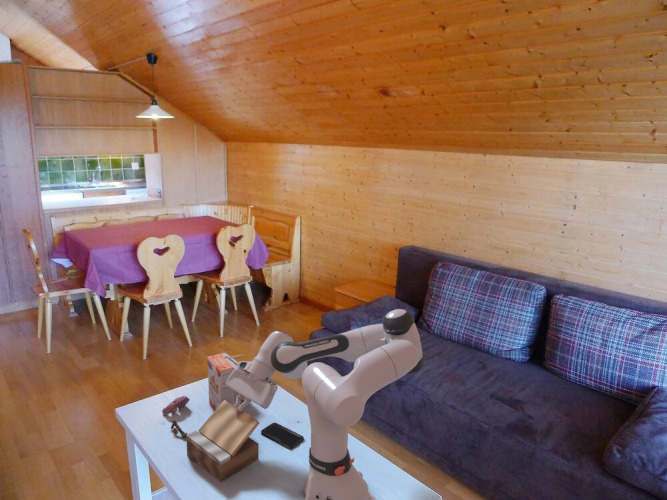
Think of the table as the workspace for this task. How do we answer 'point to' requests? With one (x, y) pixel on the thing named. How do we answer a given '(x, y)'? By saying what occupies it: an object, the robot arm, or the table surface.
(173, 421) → the wooden post with brackets
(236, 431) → the oak plank
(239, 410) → the robot arm
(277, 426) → the phone
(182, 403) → the video game controller
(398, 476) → the table surface
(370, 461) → the table surface
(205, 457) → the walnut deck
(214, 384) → the cracker box
